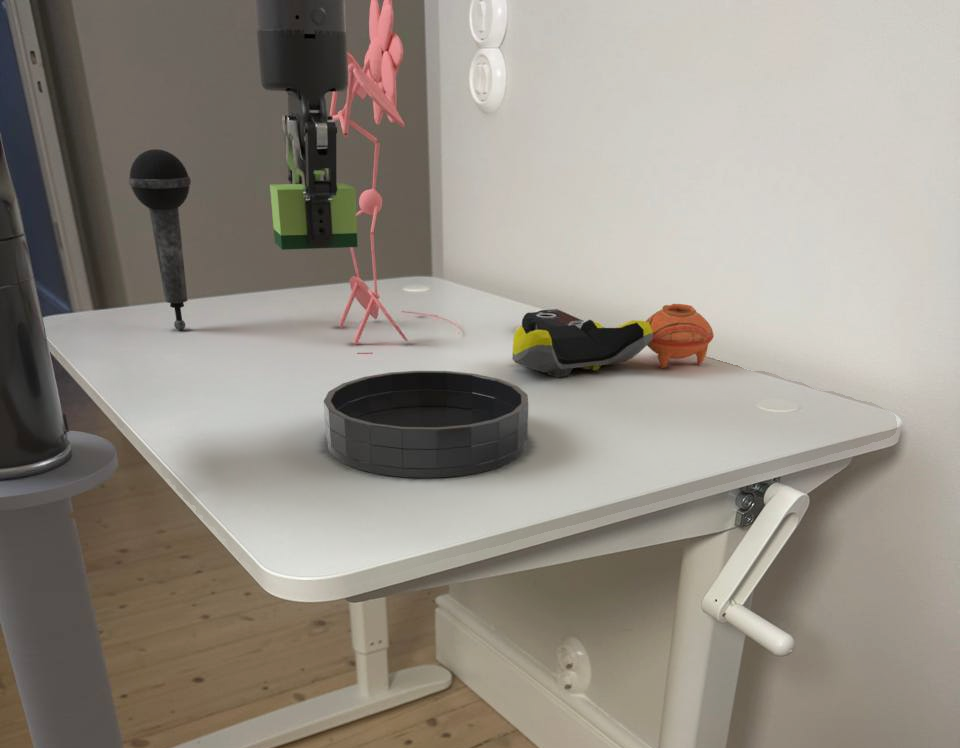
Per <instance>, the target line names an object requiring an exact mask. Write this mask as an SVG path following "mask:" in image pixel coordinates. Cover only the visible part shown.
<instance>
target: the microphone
mask: <svg viewBox="0 0 960 748" xmlns="http://www.w3.org/2000/svg"><path fill="white" fill-rule="evenodd" d="M191 181H192V180H191V177H190V176H189V173H188V171H187V168H186V167H185V165H184V164H183V162H182V161H181V160H180V159H179V158H178V157H176V155H175V154H172V153H171V152H169V151H167V150H163V149H157V148H156V149H155V148H154V149H149V150H145V151H143V152H142V153H140V154H139V155H138V156H137V157H136V158H135V159H134V161H133V163H132V164H131V166H130V170H129V177H128V184H129V186H130V187H131V190H132V192H133V194H134V196H135V197H136V199H137V200H138V201H139V202H140V203H141V204H142V205H143V206H145V207H146V208H148V210H149V215H150V223H151V228H152V233H153V239H154V243H155V249H156V256H157V261H158V267H159V273H160V277H161V284H162V289H163V295H164V301H165V302H166V303H167V304H169V307H170V308H172V309H173V308H174V314H175V320H174V323H173V325H174V328H175V329H176V330H178V331H183V330H184V329H185V328H186V322H185V321H184V320H183V315H182V308H183V307H185V303H186V302H188V292H187V291H188V290H187V282H186V273H185V272H186V271H185V262H184V251H183V243H182V232H181V231H182V230H181V223H180V213H179V208H180V207H181V206H182V205H183V204H184V202H186V199H187V197H188V195H189V192H190V186H191V183H192V182H191Z"/></svg>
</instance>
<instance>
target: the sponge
mask: <svg viewBox="0 0 960 748" xmlns="http://www.w3.org/2000/svg"><path fill="white" fill-rule="evenodd" d="M336 185H337V191H336V196H334V197H333V201H328V202H331V218H332V235H333V243H332V245H331V246H329V247H312V246H311V245H309V243H308V241H307V226H306V212H305V200H304V197H303V194H302V192H303V185H302V184H290V183H284V184H283V183H282V184H281V183H278V184H273V183H272V184H269V191H270V202H271V214H272V224H273V225H272V226H273V238H274V243H275V245H277V246H278V247H279V248H280V249H281V250H282V251H284V250H285V251H286V250H287V251H288V250H314V249H316V250H317V249H340V248H343V249H344V248H350V247H353V248H358V223H357V217H356V213H357V202H356V188H355V187H353V186H351V185H349V184H347V183H346V182H345V183H343V182H342V183H341V182H338V183H337V182H336Z"/></svg>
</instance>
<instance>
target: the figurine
mask: <svg viewBox="0 0 960 748" xmlns="http://www.w3.org/2000/svg"><path fill="white" fill-rule="evenodd" d="M394 13H395V12H394V9H393V0H383V2H382V6H381V9H380V4H379V0H370V4H369V16H368V17H369V20H368V27H369V28H368V29H369V30H368V31H369V32H368V34H369V41H370V43H369V45H368V49H367V51H366V53H365V56H364V60H363V61H364V62H363V64H364V65H363V67H361V65H360V64H359V62H358V61H357V59H356V58H355V57H354V55H352V54H351V53H350V52H348V51H347V60H348V82H349V84H348V88H347V89H346V90H347V92H346V100H345V104H344V106H343V109H340V110H339V111H338V112H337V114H336V107H337V99H338V93H339V91H338V92H332V96H331V104H330V111H329V116H332V117H333V122H336V121H339V123H340V127H341V131H342V134H343V136H344V138H347V137H349V130H350V128H349V127H350V126H351V127H353V128H354V129H355V130H356V131H357V132H359V133H361V134H362V135H363V136H365V137H366V138H367V139H368V140H369V141H371V142H372V143H374V155H373V156H374V157H373V173H372V188H370V189H366V190H364V191H362V192H361V194H360V196H359V199H358V205H359V208H360V210H359V211H357V212H356V218H357V217H359V216H360V215H362V214H363V213H365V214H367V215H369V216H372V221H371V226H370V247H371V259H372V260H371V261H372V273H373V287H374V288H373V289H374V292H373V291H372V290H371V289H370V287H369V285H367V283H366V282H365V281H364V280H362V279H361V277H360V272H359V268H358V263H357V259H356V254H355V250H354V247H349V249H350V253H351V257H352V262H353V266H354V270H355V275H356V276H355V275H353V276H351V277H350V279H349V285H350V291H351V293H350V296H349V297H348V301H347V303H346V305H345V307H344V310H343V313H342V314H341V317H340V320H339V322H338V327H340V328H343V327H344V325H345V322H346V320H347V317H348V315H349V312H350V310H351V308H352V305H353V302H354V300H355V299H356V300H357V302H358V303H359V304H360V306H361V307H362V308H363V309H364V310H365V312H364V314H363V317H362V319H361V322H360V324H359V327H358V329H357V332H356V334H355V336H354V339H353V341H352V343H353V344H355V345H358V343H359V341H360V339H361V336H362V334H363V331H364V329H365V327H366V324H367V322H368V319H369V317H372V318H373V319H374V320H377V319H378V317H379V312H380V311H379V310H381V312H382V313H383V314H384V316H385V318H387V320H388V321H389V322H390V324H391V325H392V326H393V328H394V329H395V330H396V331H397V332H398V334H399V335H400V337H401V338H402V339H403V340H404V342H405V343H407V342H409V340H408V338H407V337H406V336H405V334H404V333H403V332H402V330H401V329H400V327H399V326H398V324H397V322H396V321H395V320H394V319H393V317H392V316H391V315H390V313H389V312H388V311H387V309H386V308H385V307H384V305H383V304H382V303H381V301H380V300H379V299H380V298H381V297H380V295H379V293H378V282H377V267H376V266H377V263H376V250H375V236H374V235H375V234H374V233H375V227H376V222H377V221H376V220H377V215H378V213H379V212H380V211H381V209H382V207H383V198H382V195H381V194H380V193H379V192H378V190H376V187H377V177H378V169H379V168H378V167H379V159H380V158H379V157H380V146H381V143H380V142H378V138H377V137H375V136H374V135H373V134H371V133H370V132H369V131H367V130H365V129H364V128H363V127H361V126H360V125H358V124H357V123H356V122H354V121H353V120H351V119H350V118H351V109H352V108H351V107H352V103H353V101H354V99H355V97H356V95H358V97H360V98H361V100H362V101H364V100H365V98H366V96H367V95H368V96H369V97H370V99H371V100H372V104H373V105H372V106H373V118H374V122H375V124H376V125H380V124H381V122H382V119H383V116H384V113H385V114H386V115H387V119H388V120H389V122H390V124H394V123H397V124H398V126H400V127H401V128H402V129H404V128H405V127H406V124H405V122H404V120H403V118H402V117H401V115H400V113H399V112H398V110H397V104H398V102H397V101H398V95H397V76H398V73H399V68H400V66H401V65H402V62H403V59H404V46H403V43H402V40H401V38H400V37H399V35H398V34H397V33H395V32H393V27H394V20H395V14H394ZM401 313H404V314H415V315H422V316H428V317H432V318H437V319H440V320H444V321H446V322H449V323H451V324H452V325H454V326H456V327H457V329H460V327H459V326H458V325H460V323H459V322H458V321H456V320H454V322H453V321H452V320H450V319H446V318H444V317H441V316H438V314H431V313H430V314H429V313H428V314H427V313H421V312H415V311H403V310H401ZM455 322H456V323H455ZM457 334H458V335H459V334H460V332H458V333H457ZM356 355H373V352H356Z"/></svg>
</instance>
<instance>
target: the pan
mask: <svg viewBox="0 0 960 748" xmlns="http://www.w3.org/2000/svg"><path fill="white" fill-rule="evenodd" d="M323 411H324V412H323V413H324V427H325V428H324V429H325V438H326V439H327V448H328V451H329V453H330V454H331V456H332V457H333V458H335V459H336V460H337V461H339V462H340V463H343V464H344V465H346V466H349V467H351V468H354V469H357V470H360V471H363V472H368V473H371V474H376V475H382V476H389V477H397V478H411V479H436V478H437V479H439V478H440V479H441V478H451V477H454V478H455V477H460V476H468V475H469V476H470V475H474V474H480V473H484V472H489V471H492V470H494V469H498V468H501V467H503V466H507V465H509V464H511V463H512V462H514V461H515V460H517V459H518V458H520V457H521V456H522V455H523V453H524V452H526V451H525V450H526V448H527V441H528V430H529V429H528V427H529V426H528V424H529V395H528V393H526V392H525V391H524V390H522V388H521V387H519V386H518V385H516V384H513V383H510V382H509V381H505V380H504V379H500V378H496V377H492V376H486V375H484V374H483V375H482V374H477V373H472V372H471V373H470V372H460V371H452V370H409V371H408V370H406V371H393V372H386V373H377V374H373V375H366V376H363V377H359V378H356V379H352V380H349V381H346V382H343V383H341V384H339V385H338V386H336V387H334V388H332V389H331V390H329V391H328V392H327V394H326V395H325V398H324V399H323Z"/></svg>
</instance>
